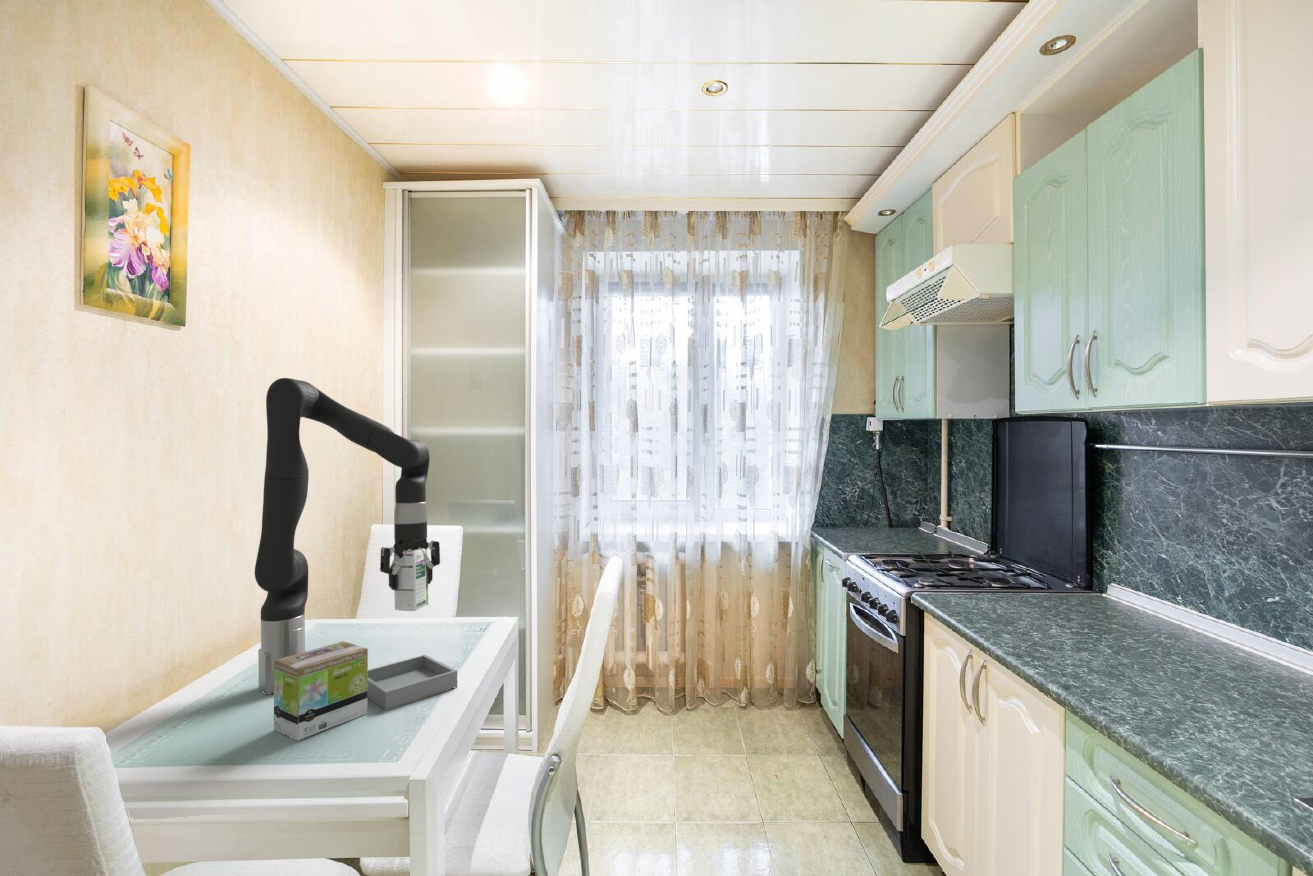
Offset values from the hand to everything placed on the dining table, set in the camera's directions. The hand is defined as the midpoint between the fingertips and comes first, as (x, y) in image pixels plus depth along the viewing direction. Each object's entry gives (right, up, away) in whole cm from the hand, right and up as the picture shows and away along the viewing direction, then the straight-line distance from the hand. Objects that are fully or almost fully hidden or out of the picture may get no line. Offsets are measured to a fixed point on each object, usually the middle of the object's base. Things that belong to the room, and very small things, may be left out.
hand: (411, 586), depth 150 cm
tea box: (-11, -24, -20) cm, 33 cm away
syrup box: (0, -5, 0) cm, 5 cm away
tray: (0, -24, -3) cm, 24 cm away
